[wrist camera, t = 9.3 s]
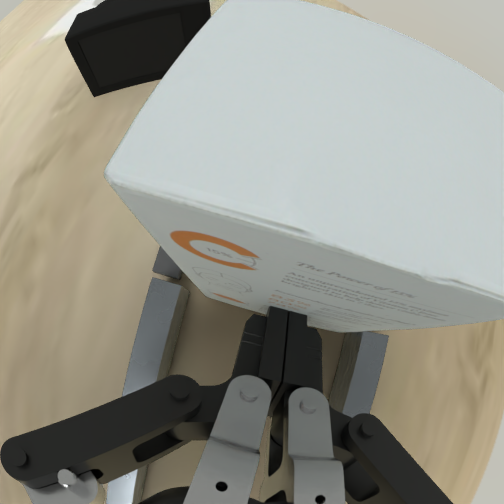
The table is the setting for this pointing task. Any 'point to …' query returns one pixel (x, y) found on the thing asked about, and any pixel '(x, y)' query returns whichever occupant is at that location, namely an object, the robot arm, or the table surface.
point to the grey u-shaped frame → (161, 351)
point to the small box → (323, 171)
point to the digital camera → (132, 40)
